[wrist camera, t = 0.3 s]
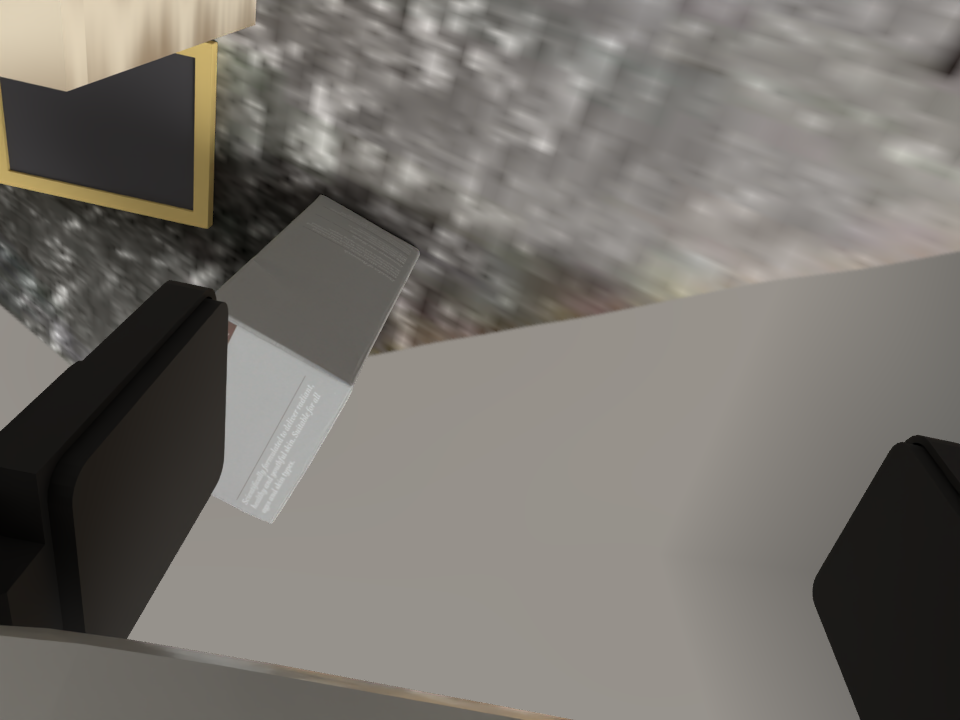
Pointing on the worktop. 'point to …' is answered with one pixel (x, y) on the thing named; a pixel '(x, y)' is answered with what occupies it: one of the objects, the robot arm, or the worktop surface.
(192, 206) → the yellow framed grey pad
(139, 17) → the tunnel
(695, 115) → the worktop surface
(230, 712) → the robot arm
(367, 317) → the skincare box
